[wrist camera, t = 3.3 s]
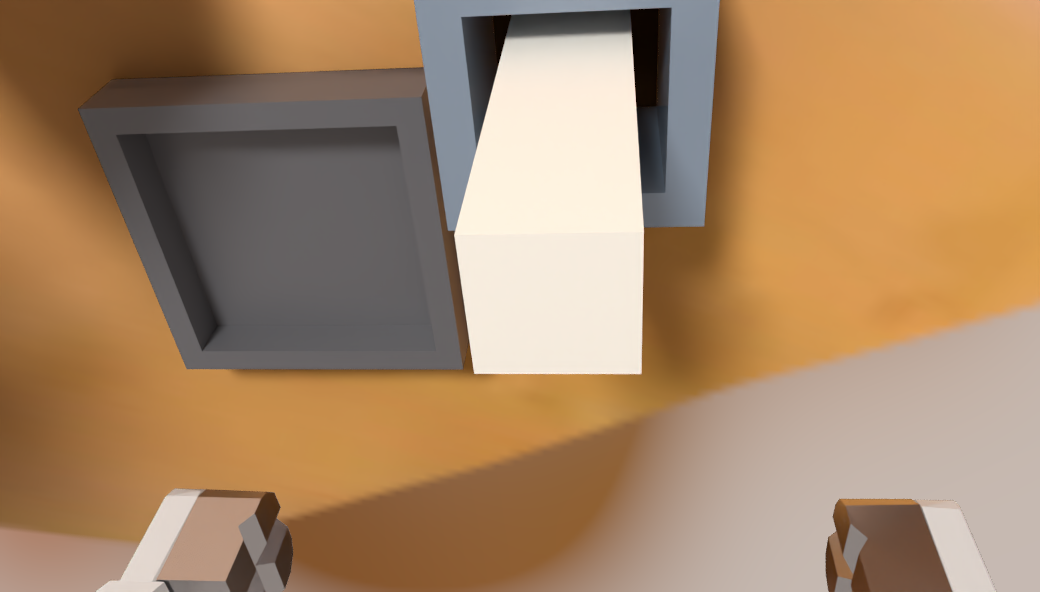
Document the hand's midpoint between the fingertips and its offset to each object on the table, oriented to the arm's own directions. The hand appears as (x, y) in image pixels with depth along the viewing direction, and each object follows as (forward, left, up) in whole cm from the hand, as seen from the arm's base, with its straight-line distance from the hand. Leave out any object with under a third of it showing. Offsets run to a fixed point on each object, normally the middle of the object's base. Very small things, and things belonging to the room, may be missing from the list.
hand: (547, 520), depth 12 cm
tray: (+7, -11, -20) cm, 24 cm away
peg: (0, 0, -20) cm, 20 cm away
